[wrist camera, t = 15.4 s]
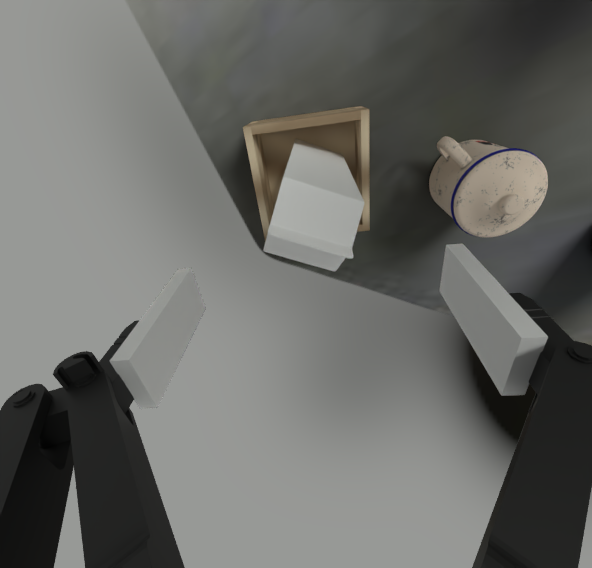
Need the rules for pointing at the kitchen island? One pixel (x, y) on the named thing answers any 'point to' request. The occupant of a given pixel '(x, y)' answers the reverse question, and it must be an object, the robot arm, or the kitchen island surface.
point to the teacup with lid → (487, 185)
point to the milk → (315, 209)
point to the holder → (316, 130)
